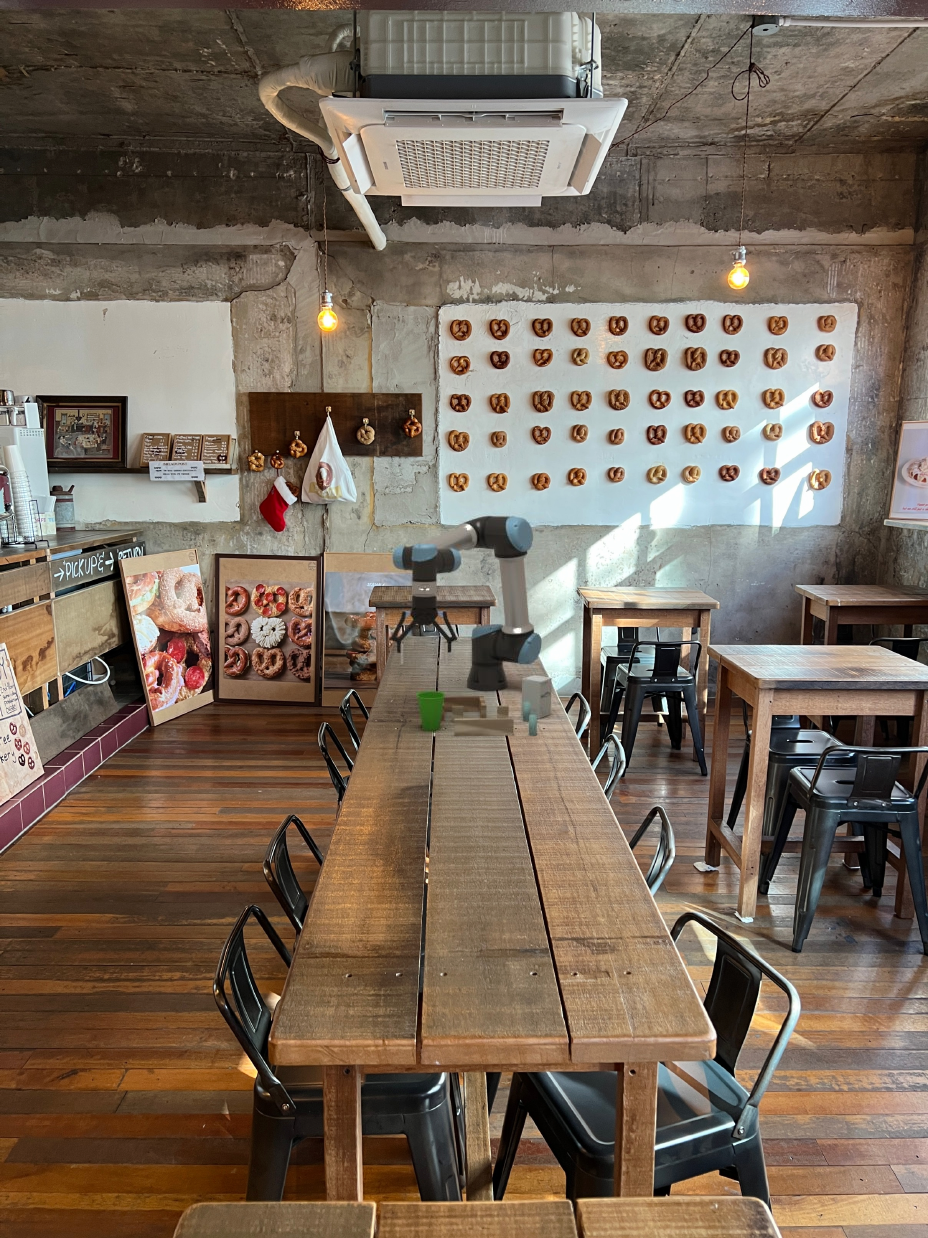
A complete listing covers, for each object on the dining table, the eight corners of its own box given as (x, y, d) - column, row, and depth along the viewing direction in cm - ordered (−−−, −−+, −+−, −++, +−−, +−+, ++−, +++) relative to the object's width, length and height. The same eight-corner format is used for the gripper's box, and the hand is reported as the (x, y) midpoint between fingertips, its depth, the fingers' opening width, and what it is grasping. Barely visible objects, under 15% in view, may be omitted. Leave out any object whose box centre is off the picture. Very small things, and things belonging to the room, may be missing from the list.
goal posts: (522, 719, 282) (522, 701, 281) (529, 719, 282) (530, 701, 281) (529, 735, 265) (529, 716, 264) (537, 735, 265) (537, 716, 264)
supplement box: (539, 719, 283) (540, 681, 281) (520, 715, 287) (521, 678, 285) (551, 714, 288) (552, 677, 286) (532, 711, 293) (533, 674, 291)
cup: (441, 733, 267) (441, 699, 265) (413, 732, 269) (413, 697, 267) (448, 725, 276) (448, 691, 274) (420, 723, 277) (420, 690, 275)
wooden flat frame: (438, 710, 292) (438, 696, 292) (504, 710, 294) (504, 695, 293) (441, 736, 264) (441, 720, 264) (513, 735, 266) (513, 719, 265)
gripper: (383, 596, 261) (383, 665, 264) (466, 596, 263) (465, 665, 266) (383, 593, 268) (383, 660, 272) (464, 593, 270) (463, 660, 274)
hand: (424, 663), depth 269 cm, fingers open, 13 cm apart
